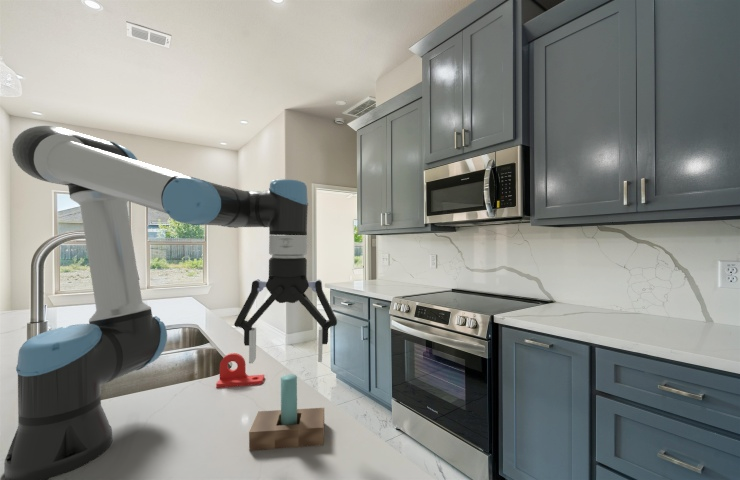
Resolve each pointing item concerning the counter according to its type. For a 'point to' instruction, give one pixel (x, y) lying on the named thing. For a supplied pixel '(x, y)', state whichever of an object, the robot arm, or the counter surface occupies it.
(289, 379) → the peg
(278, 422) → the hole block
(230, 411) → the counter surface
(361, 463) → the counter surface
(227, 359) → the bracket
